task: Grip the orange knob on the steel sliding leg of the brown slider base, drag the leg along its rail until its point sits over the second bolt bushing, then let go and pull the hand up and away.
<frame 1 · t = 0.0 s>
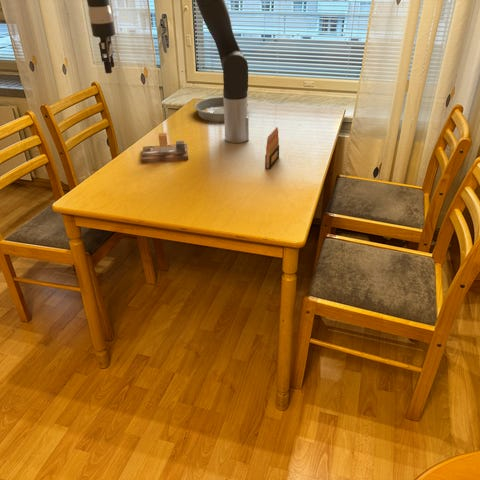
hand: (110, 70, 164), 29 cm above the table, tool pointing down, fingers open, 8 cm apart
ammunition clip: (272, 163, 165), on the table
cake pan: (221, 114, 211), on the table
brown slider base: (165, 154, 173), on the table
sliding leg: (163, 141, 170), point 6 cm above the table, slide at 0.0 cm
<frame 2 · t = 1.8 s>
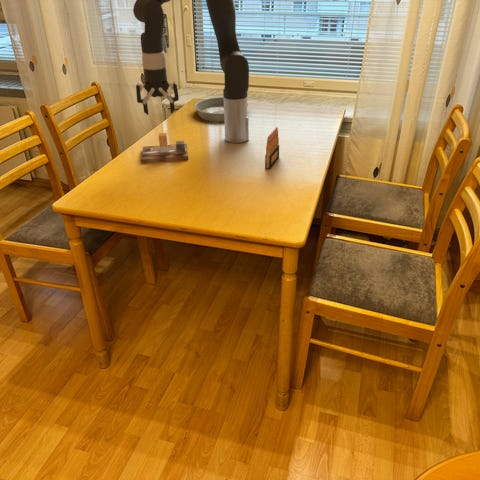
hand: (159, 113, 162), 17 cm above the table, tool pointing down, fingers open, 8 cm apart
nothing on the table moved.
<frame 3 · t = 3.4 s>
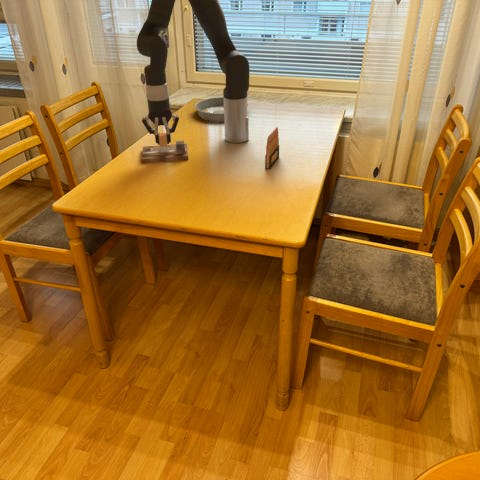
hand: (163, 143, 168), 6 cm above the table, tool pointing down, fingers closed on sliding leg, 3 cm apart
sliding leg: (163, 141, 170), point 6 cm above the table, slide at 0.0 cm, touching gripper
everything else where it was.
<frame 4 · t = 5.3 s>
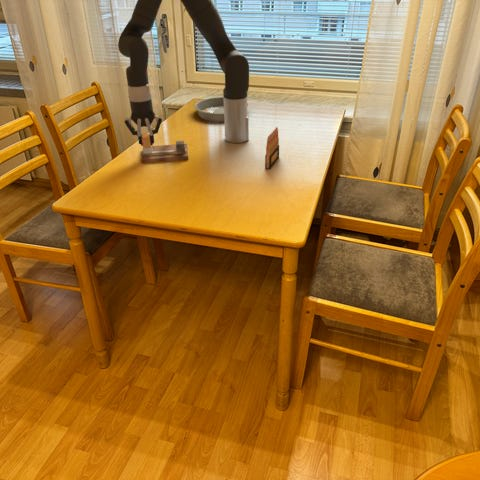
hand: (146, 144, 167), 6 cm above the table, tool pointing down, fingers closed on sliding leg, 3 cm apart
sliding leg: (147, 142, 169), point 6 cm above the table, slide at 6.0 cm, touching gripper
everything else where it was.
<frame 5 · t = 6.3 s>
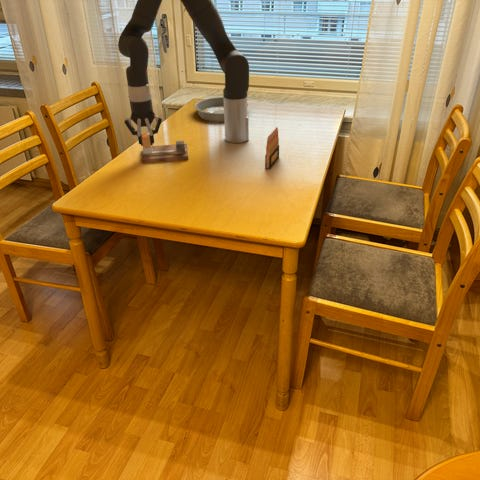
hand: (146, 144, 167), 6 cm above the table, tool pointing down, fingers closed on sliding leg, 3 cm apart
sliding leg: (147, 142, 169), point 6 cm above the table, slide at 6.0 cm, touching gripper
everything else where it was.
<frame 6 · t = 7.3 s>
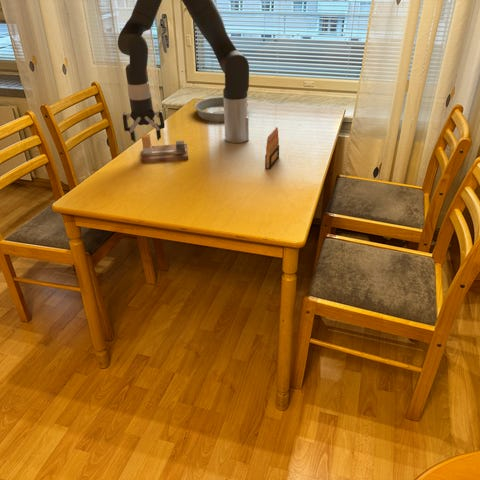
hand: (146, 140, 166), 7 cm above the table, tool pointing down, fingers open, 8 cm apart
sliding leg: (147, 142, 169), point 6 cm above the table, slide at 6.0 cm
everything else where it was.
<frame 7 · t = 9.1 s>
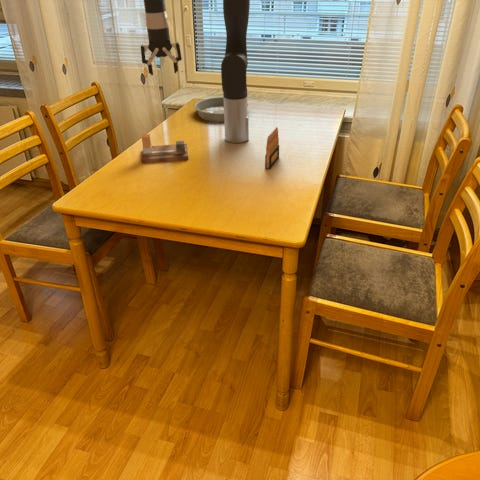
hand: (163, 73, 168), 27 cm above the table, tool pointing down, fingers open, 8 cm apart
nothing on the table moved.
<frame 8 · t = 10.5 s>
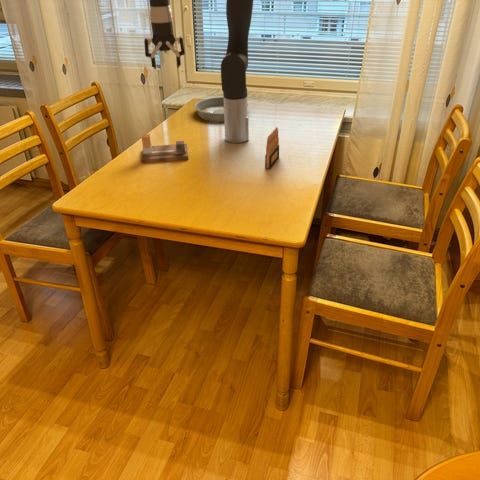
hand: (166, 67, 170), 28 cm above the table, tool pointing down, fingers open, 8 cm apart
nothing on the table moved.
at the end: sliding leg slide at 6.0 cm; the gripper is holding nothing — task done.
